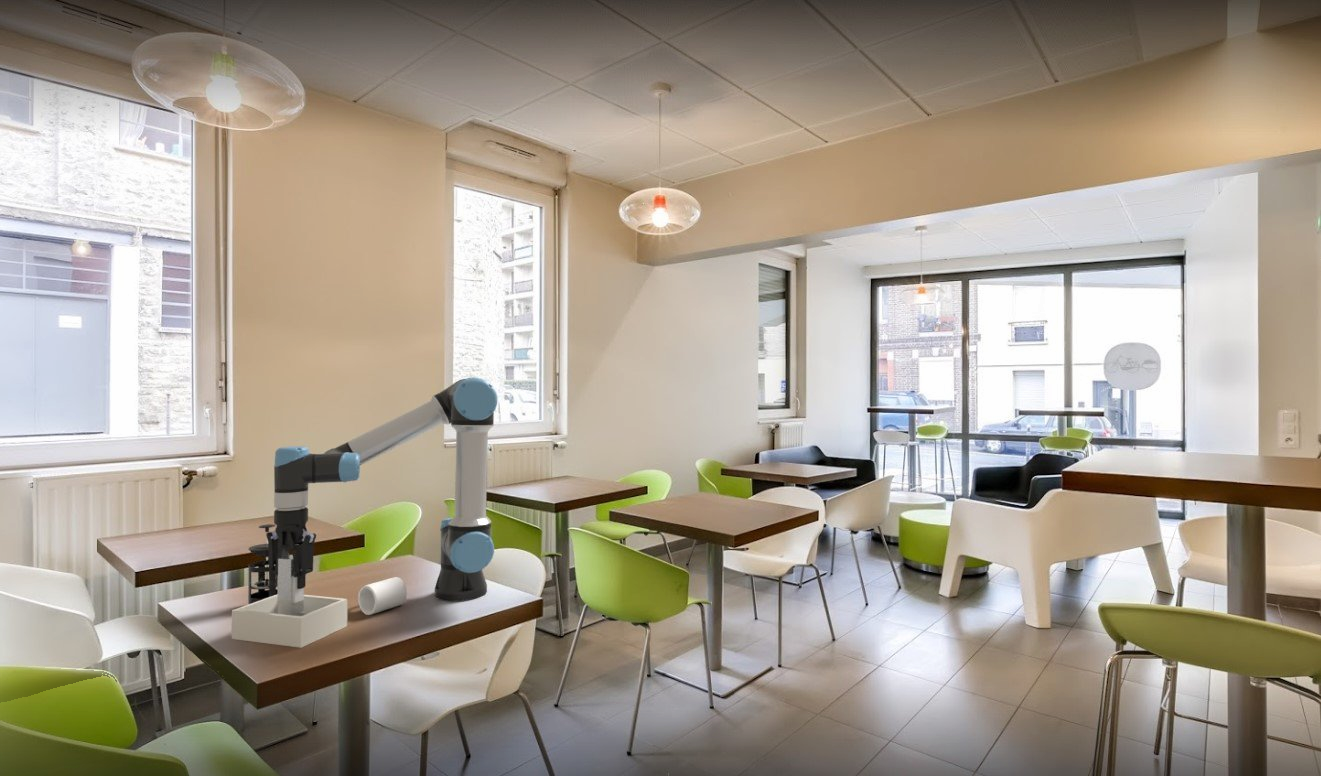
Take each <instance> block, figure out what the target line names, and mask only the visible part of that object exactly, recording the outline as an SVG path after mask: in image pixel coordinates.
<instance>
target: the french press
mask: <svg viewBox="0 0 1321 776" xmlns="http://www.w3.org/2000/svg"><path fill="white" fill-rule="evenodd" d="M274 527H275V528H276V527H277V525H275V524H274V523H273V524H272V523H271V524H270V523H269V524H261V525H259V526H258V528H259V529H264V532H265V534H267V533H268V532H270V528H274ZM265 536H266V535H265ZM265 538H266V539H265V540H266V542H265V543H262V544H256V545H252V546H250V547H248V551H250V553H251V554H255V555H256V556H257V557H259V558H265V559H266V560H260V561H256V562H253V563H250V564H248V578H247V579H248V591H247V592H248V602H247V603H248V604H247V605H249V604H251V603H254V602H257V601H260V600H263V599H266V598H268V597H271V596H274V595H277V594H278V587H277V586H276V574H275V572H273V571H269V553H268V539H267V536H266V537H265ZM252 573H258V575H257V581H254V582H253V583H252ZM252 590H257V591H256V592H253V593H252Z"/></svg>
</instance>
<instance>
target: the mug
mask: <svg viewBox="0 0 1321 776" xmlns="http://www.w3.org/2000/svg"><path fill="white" fill-rule="evenodd" d="M407 592H408V591H407V587H406V584H405V582H404V580H402V578H400V577H397V576H394V577H390V578H387V579H384V580H380V581H376V582H373V583H368V584H366V585H363V586H361V588H360V589H359V591H358V594H357V602H358V607H359V608H360V610H361V612H362V613H363V614H365V615H367V616H371V615H374V614H378V613H380V612H384V611H387V610H390V609H393V608H396V607H399V606H402V605H403V604H404V603H405V601H406V599H407V597H408V596H407V595H408V593H407Z"/></svg>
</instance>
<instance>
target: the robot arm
mask: <svg viewBox="0 0 1321 776" xmlns="http://www.w3.org/2000/svg"><path fill="white" fill-rule="evenodd" d="M497 405H498V394H497V391H496V389H495V388H494V386H493V385H492V384H491V383H490V382H489V381H487V380H486V379H483V378H480V377H467V378H463V379H459V380H457V381H455V382H454V383H452V384H451V385H449V386H448V387H447V388H445V389H443V390H442V391H440V392H438V393H436V394H434V395H433V396H431V399H430V401H427V402H426V403H424V404H422V405H419V406H418V407H416V408H414V409H413V408H412V409H411V410H409V411H408V412H405V413H403V414H401V415H399V416H397V417H395V418H393V419H391V420H389V421H388V422H385V423H382V424H381V425H379V426H377V427H375V428H373V429H371V430H369V431H368V432H367V431H366V432H364V433H363V434H361V435H358V436H356V437H354V438H353V439H350V440H349V441H347V442H345V443H343V444H340V445H339V446H337V447H334V448H330V449H328V450H326V451H325V452H324V453H310V449H309V447H307V446H303V445H302V446H300V445H299V446H294V445H293V446H282V447H279V448H277V449H276V450H275V452H274V466H273V467H274V470H273V471H274V475H273V478H274V481H273V482H274V489H273V490H274V495H273V496H274V499H273V507H274V509H275V510H273V525H276V526H275V530H273V531H269V532H268V533H267V534H266V533H265V534H266V535H265V536H267V539H268V553H269V557H268V560H269V565H268V567H269V571H273V572H275V574H276V586H277V587H276V588H278V558H282V557H286V556H289V555H290V551H291V552H292V553H291V555H293V561H294V567H295V574H296V575H293V603H296V602H299V601H302V600H304V595H305V591H304V590H305V587H306V582H307V581H306V575H307V574H310V573H312V572H313V571H314V551H315V548H314V547H315V541H316V537H317V534H316V533H315V532H314V533H310V532H308V529H307V526H306V524H307V522H308V521H309V508H308V505H309V484H317V483H320V484H321V483H323V484H324V483H325V484H326V483H347V482H356V481H358V480H359V479H360V467H361V466H362V465H364V464H366V463H369V462H370V461H372V460H374V459H376V458H378V457H380V456H381V455H383V454H385V453H388V452H390V451H392V450H394V449H395V448H397V447H399V446H401V445H402V446H403V444H406V443H407V442H409V441H411V440H413V439H415V438H417V437H420V436H421V435H424V434H425V433H427V432H429V431H431V430H434V429H435V428H437V427H439V426H441V425H443V424H444V425H450V426H451V427H452V428H453V429H454V430H455V432H456V435H455V436H456V440H455V444H456V445H455V476H454V477H455V478H454V479H455V481H454V489H455V490H454V516H453V517H447V518H444V519H442V520H441V522H440V528H439V530H440V571H439V572H438V573H439V575H438V577H437V580H436V583H435V586H434V597H435V599H438V600H441V601H445V602H446V601H447V602H458V601H459V602H461V601H462V602H463V601H469V600H473V599H477V598H480V597H482V596H485V594H486V593H487V592H488V584H487V581H486V578H485V575H484V571H483V570H484V569H485V568H486V567H487V566H488V565H489V564H491V562H492V559H493V557H494V554H495V545H494V541H493V539H492V520H491V519H490V518H489V517H488V516H487V489H488V488H487V486H488V482H487V480H488V444H489V443H488V437H489V435H488V434H489V431H490V430H491V429H492V427H494V422H495V421H494V417H495V416H494V415H495V414H494V413H495V411H496V408H497ZM277 601H278V595H277Z"/></svg>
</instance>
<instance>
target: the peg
mask: <svg viewBox="0 0 1321 776" xmlns="http://www.w3.org/2000/svg"><path fill="white" fill-rule="evenodd" d="M293 575H296V574H295V567H294V561H293V554H289V556H286V557H282V558H278V587H277V589H278V614H284V615H294V614H297V613H299V612H302V611H303V600H302V601H299V602H296V603H293Z"/></svg>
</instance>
